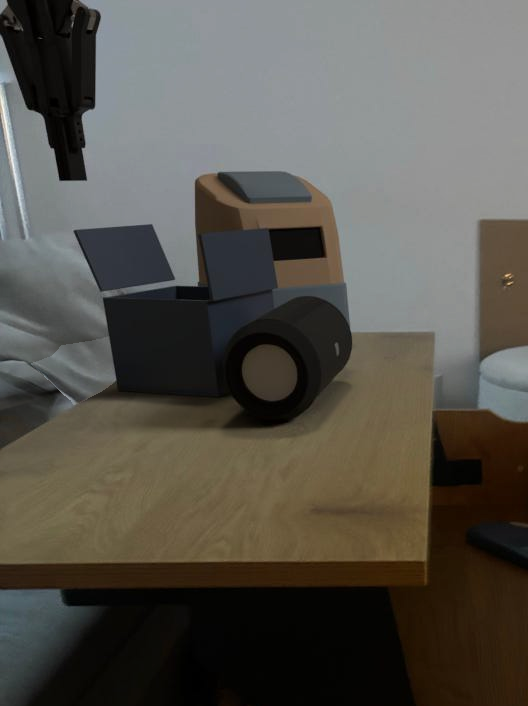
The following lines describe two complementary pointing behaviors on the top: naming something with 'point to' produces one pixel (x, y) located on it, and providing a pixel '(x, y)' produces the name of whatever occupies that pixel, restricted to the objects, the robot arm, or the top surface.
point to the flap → (124, 256)
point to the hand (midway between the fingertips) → (73, 180)
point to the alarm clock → (277, 229)
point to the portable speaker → (287, 357)
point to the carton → (192, 319)
